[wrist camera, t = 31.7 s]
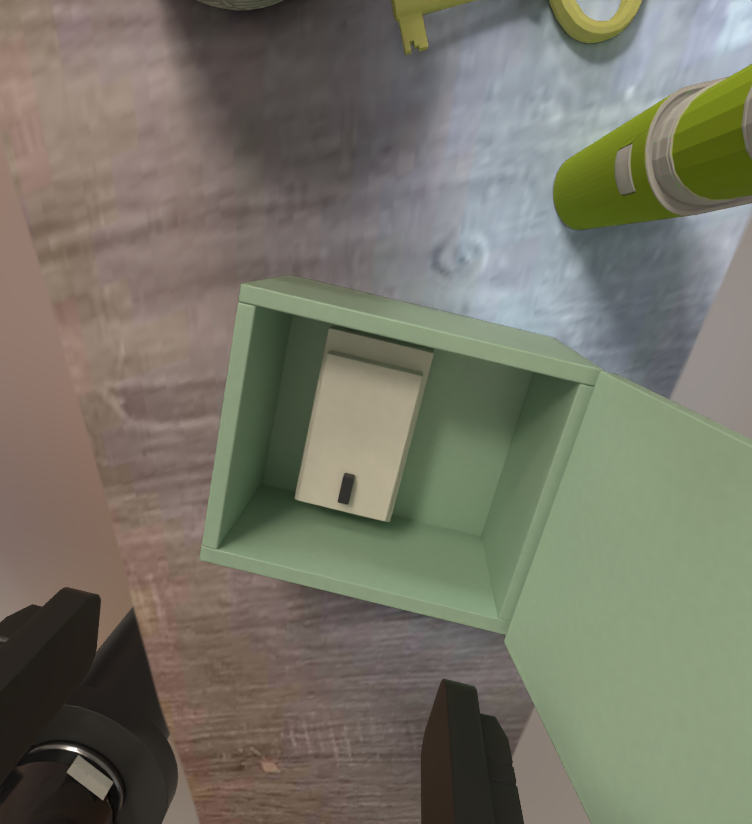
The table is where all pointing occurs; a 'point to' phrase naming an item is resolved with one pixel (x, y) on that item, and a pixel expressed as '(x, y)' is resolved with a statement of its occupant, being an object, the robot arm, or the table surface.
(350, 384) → the white power adapter
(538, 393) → the box
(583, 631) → the lid
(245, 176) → the table surface
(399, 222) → the table surface
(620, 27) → the key
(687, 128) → the vape
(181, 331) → the table surface
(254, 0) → the planter
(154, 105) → the table surface
